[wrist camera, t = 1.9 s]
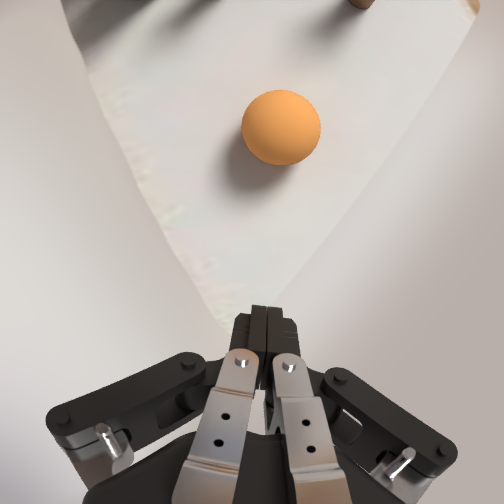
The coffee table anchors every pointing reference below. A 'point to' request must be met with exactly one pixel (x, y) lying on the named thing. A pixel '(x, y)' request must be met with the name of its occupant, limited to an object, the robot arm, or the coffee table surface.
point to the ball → (281, 127)
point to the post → (362, 3)
